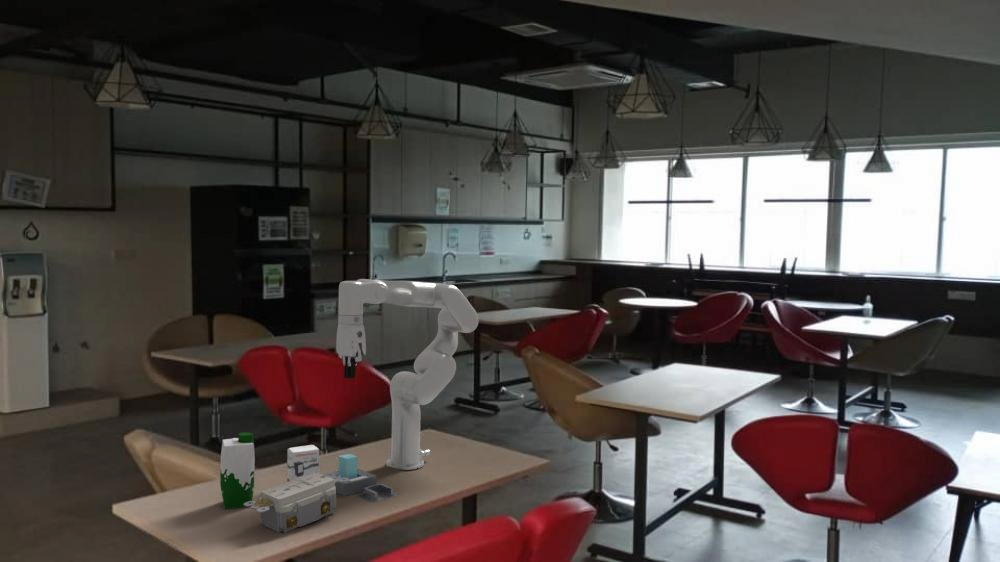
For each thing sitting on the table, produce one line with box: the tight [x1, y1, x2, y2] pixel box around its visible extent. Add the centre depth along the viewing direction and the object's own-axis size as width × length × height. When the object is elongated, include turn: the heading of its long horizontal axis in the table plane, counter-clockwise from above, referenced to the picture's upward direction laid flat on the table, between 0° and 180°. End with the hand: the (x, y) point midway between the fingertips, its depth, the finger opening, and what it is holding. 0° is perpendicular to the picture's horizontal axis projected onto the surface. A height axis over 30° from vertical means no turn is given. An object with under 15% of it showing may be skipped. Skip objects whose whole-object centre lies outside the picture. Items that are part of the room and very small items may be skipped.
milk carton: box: [219, 431, 255, 510], centre depth 215 cm, size 9×9×20 cm
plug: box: [338, 453, 359, 479], centre depth 231 cm, size 4×4×10 cm
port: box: [322, 468, 378, 497], centre depth 231 cm, size 12×12×4 cm
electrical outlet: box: [244, 472, 349, 534], centre depth 205 cm, size 12×28×10 cm, turn 140°
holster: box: [356, 483, 401, 503], centre depth 224 cm, size 10×8×3 cm
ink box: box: [286, 444, 320, 482], centre depth 232 cm, size 8×5×12 cm, turn 123°
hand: (349, 377), depth 240 cm, fingers closed
